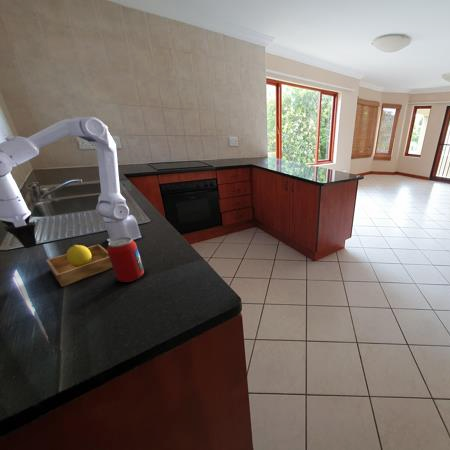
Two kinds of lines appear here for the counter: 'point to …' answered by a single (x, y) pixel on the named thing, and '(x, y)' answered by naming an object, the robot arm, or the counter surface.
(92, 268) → the wooden tray
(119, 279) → the beverage can
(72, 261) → the lemon
